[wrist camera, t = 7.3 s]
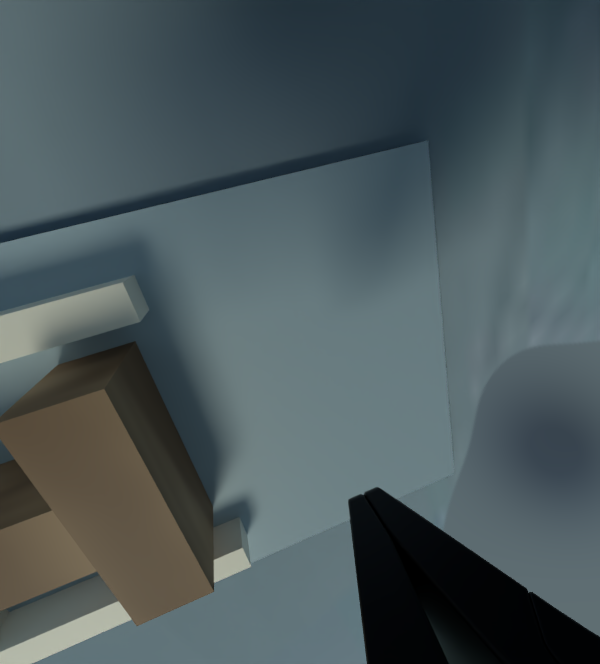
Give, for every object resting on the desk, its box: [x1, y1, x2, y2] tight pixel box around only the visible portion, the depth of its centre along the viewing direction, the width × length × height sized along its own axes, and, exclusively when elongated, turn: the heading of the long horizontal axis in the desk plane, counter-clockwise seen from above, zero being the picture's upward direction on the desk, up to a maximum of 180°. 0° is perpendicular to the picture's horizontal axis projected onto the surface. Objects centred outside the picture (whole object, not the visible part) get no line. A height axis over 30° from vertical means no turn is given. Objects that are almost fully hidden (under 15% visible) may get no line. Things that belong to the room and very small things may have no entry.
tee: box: [0, 341, 214, 626], centre depth 10 cm, size 7×8×4 cm
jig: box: [0, 140, 454, 664], centre depth 12 cm, size 22×16×2 cm
